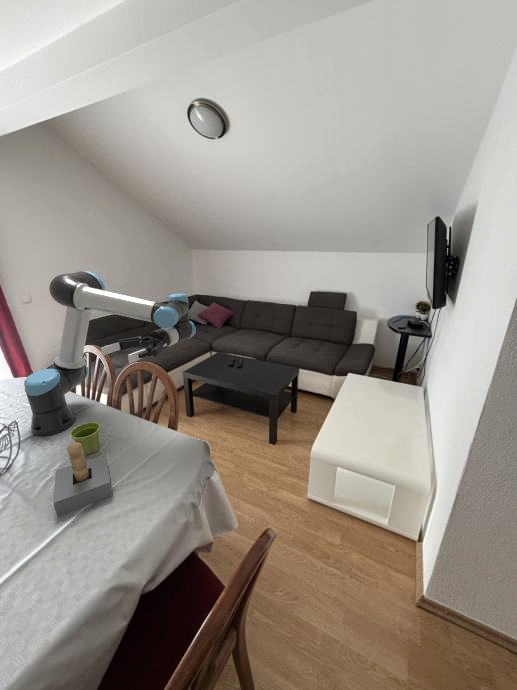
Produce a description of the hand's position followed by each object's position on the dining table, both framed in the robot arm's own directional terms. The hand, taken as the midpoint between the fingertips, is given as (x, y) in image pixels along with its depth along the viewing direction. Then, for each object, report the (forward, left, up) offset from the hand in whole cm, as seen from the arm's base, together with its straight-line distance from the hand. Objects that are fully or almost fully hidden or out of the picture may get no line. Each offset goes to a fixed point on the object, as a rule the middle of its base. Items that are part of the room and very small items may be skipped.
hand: (114, 355), depth 92 cm
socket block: (+11, -15, -38) cm, 42 cm away
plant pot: (-9, -13, -38) cm, 41 cm away
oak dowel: (+11, -15, -37) cm, 42 cm away
